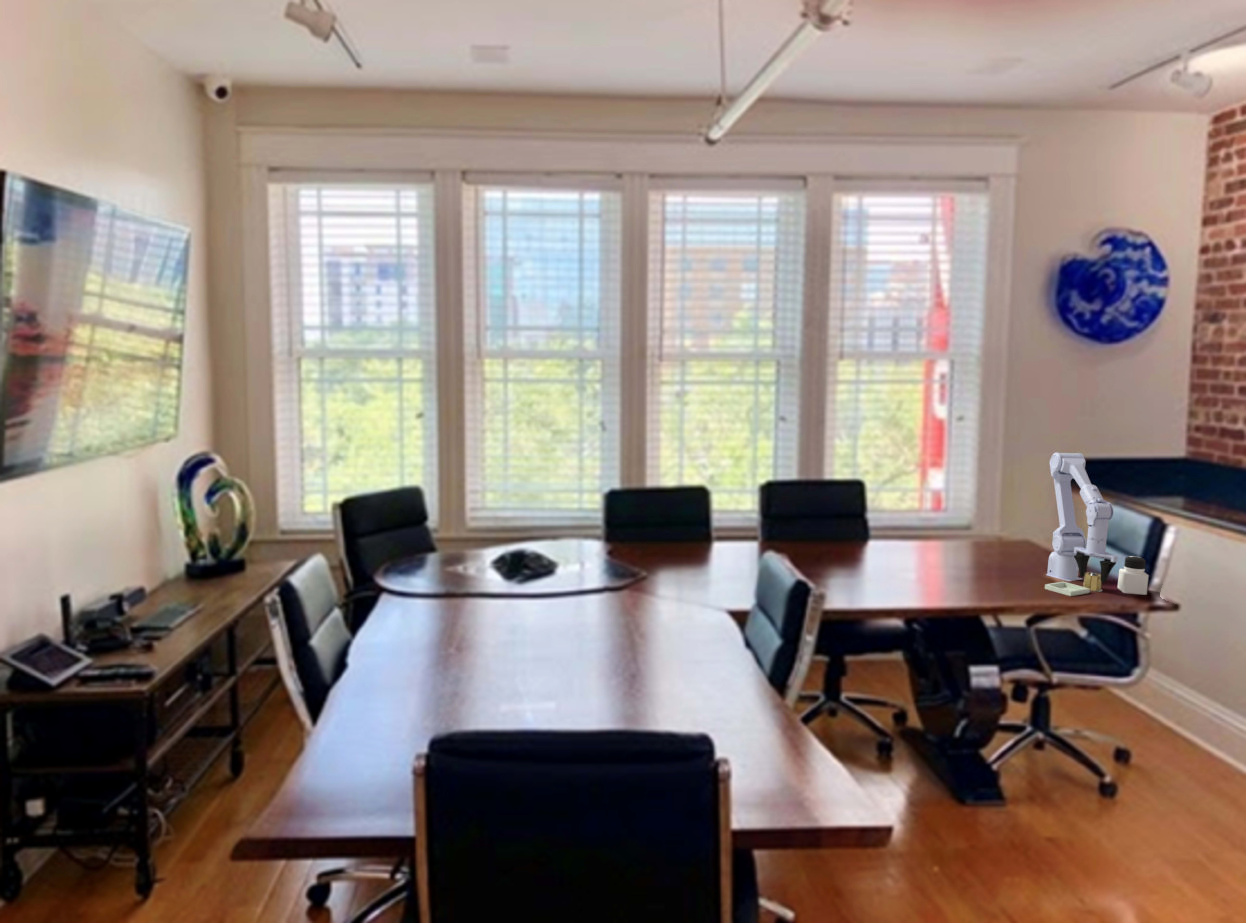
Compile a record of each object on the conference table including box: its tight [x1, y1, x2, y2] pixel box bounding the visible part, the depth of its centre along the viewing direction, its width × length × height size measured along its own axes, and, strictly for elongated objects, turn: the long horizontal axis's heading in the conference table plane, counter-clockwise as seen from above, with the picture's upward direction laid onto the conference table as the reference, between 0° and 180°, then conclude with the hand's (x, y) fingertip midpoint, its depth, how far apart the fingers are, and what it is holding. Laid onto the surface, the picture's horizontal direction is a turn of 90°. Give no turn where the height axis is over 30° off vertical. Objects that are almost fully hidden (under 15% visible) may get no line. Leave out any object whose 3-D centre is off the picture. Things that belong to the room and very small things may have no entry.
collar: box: [1082, 571, 1102, 592], centre depth 321 cm, size 5×6×5 cm
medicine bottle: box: [1117, 555, 1150, 596], centre depth 319 cm, size 7×7×12 cm
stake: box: [1090, 572, 1103, 593], centre depth 321 cm, size 6×6×6 cm
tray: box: [1044, 581, 1091, 597], centre depth 318 cm, size 10×10×2 cm
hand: (1092, 578), depth 320 cm, fingers open, 7 cm apart
